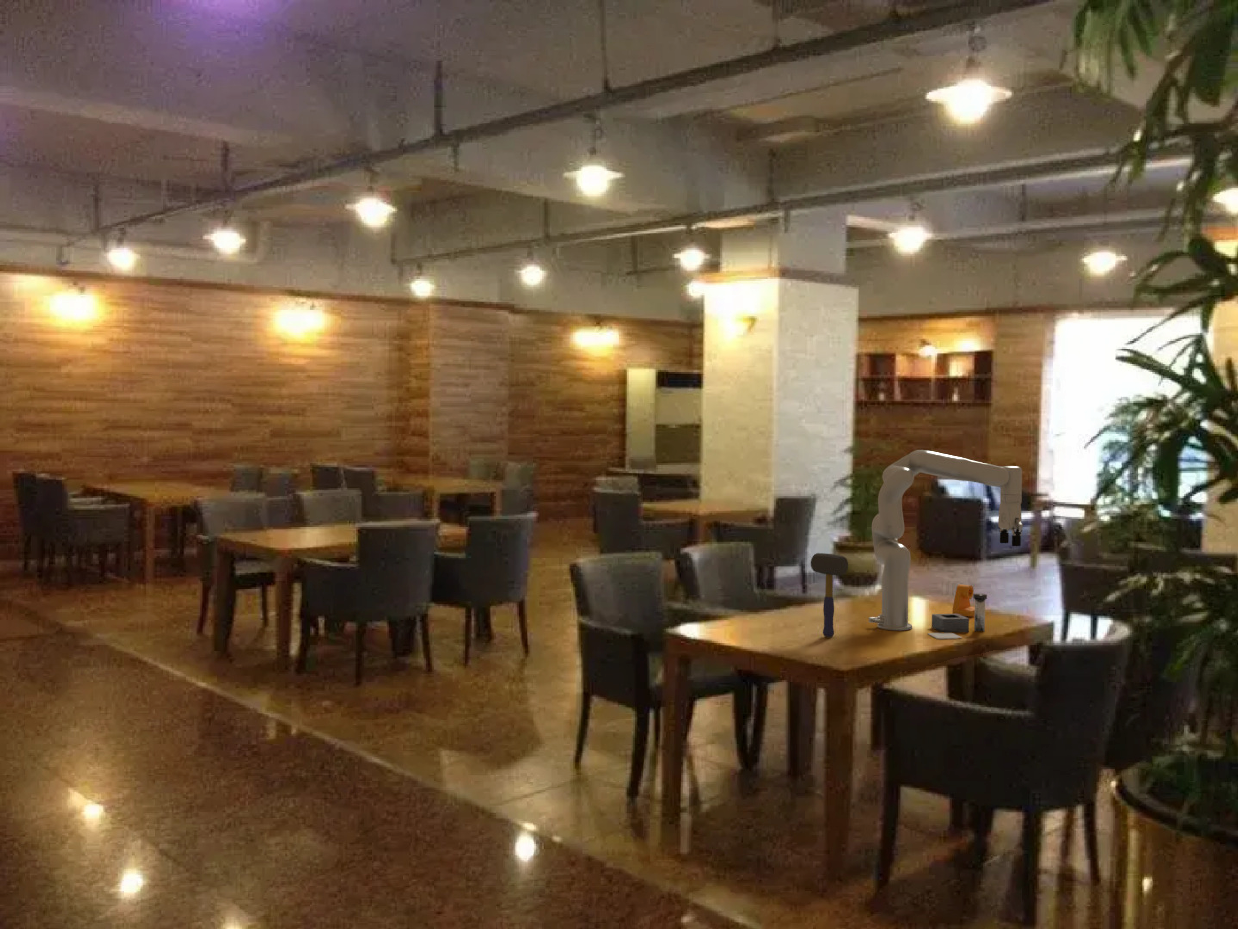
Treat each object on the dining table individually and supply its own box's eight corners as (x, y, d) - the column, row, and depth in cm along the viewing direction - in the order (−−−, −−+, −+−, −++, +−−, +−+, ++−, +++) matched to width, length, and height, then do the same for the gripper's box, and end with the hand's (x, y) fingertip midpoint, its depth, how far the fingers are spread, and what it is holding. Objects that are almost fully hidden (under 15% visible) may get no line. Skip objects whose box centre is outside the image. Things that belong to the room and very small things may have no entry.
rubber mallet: (849, 638, 408) (850, 554, 407) (835, 641, 404) (836, 556, 402) (821, 633, 418) (822, 551, 416) (808, 636, 413) (808, 552, 411)
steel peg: (975, 632, 421) (976, 595, 420) (970, 629, 426) (971, 593, 425) (988, 632, 422) (989, 595, 421) (982, 629, 426) (983, 593, 426)
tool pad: (937, 639, 408) (937, 638, 408) (927, 634, 417) (927, 633, 417) (962, 639, 409) (962, 637, 409) (951, 634, 418) (951, 632, 418)
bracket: (969, 618, 449) (970, 587, 449) (952, 616, 454) (952, 585, 454) (982, 614, 457) (982, 584, 456) (965, 612, 462) (965, 582, 461)
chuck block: (942, 632, 420) (942, 619, 420) (931, 627, 430) (931, 614, 430) (968, 632, 421) (968, 618, 421) (957, 627, 431) (957, 613, 431)
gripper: (991, 497, 440) (990, 542, 441) (1012, 501, 423) (1011, 547, 423) (1009, 497, 441) (1009, 541, 441) (1031, 500, 423) (1030, 547, 424)
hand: (1010, 544), depth 432 cm, fingers open, 9 cm apart
